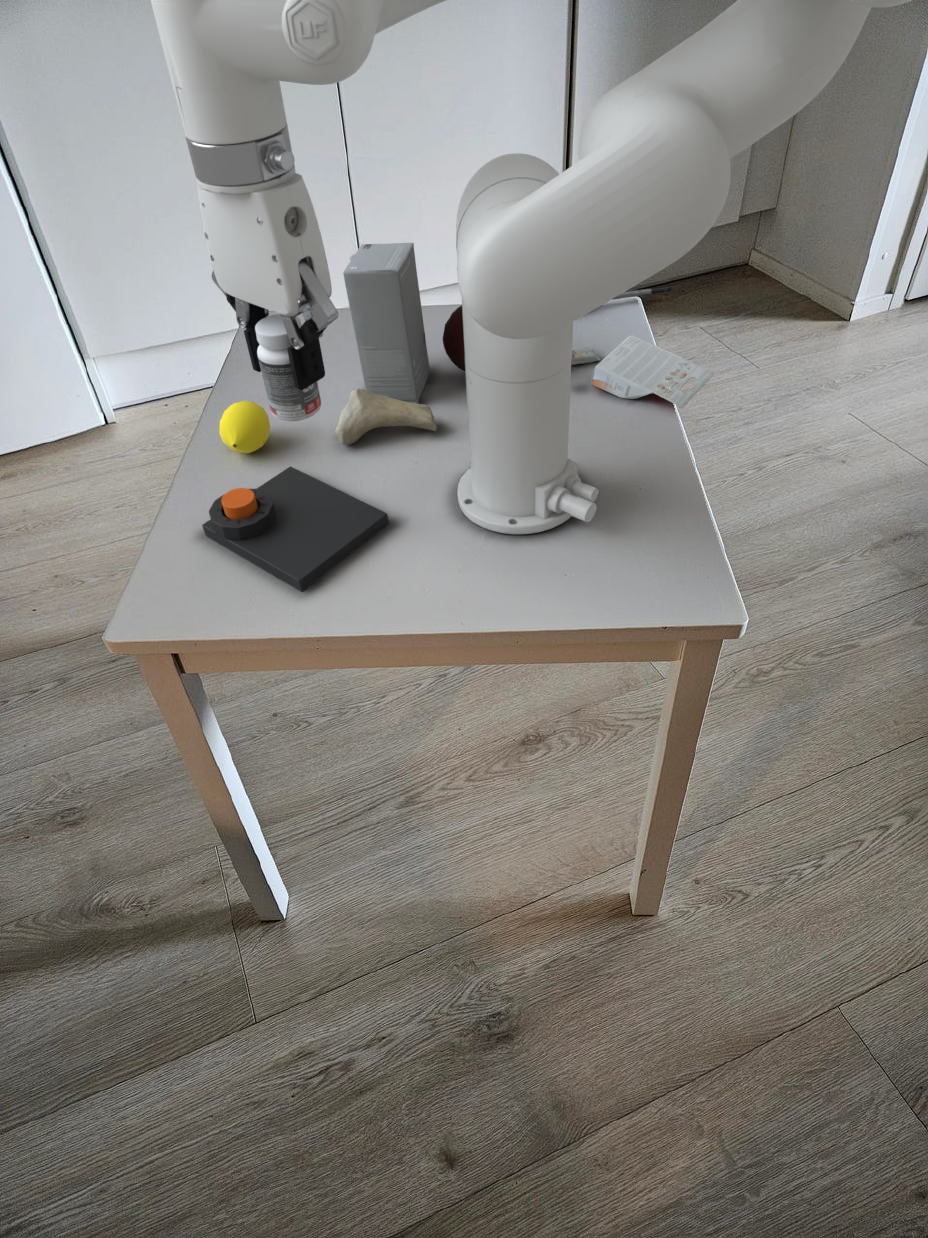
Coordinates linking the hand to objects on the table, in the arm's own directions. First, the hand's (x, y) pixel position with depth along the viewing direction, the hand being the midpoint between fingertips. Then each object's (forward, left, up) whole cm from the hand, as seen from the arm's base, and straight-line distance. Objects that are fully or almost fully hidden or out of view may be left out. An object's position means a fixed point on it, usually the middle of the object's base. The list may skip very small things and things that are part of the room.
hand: (289, 371), depth 78 cm
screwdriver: (0, -50, -14) cm, 52 cm away
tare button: (+3, +7, -13) cm, 15 cm away
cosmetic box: (+9, -22, -15) cm, 29 cm away
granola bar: (-4, -39, -14) cm, 42 cm away
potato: (+1, -31, -15) cm, 35 cm away
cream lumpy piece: (+3, -14, -15) cm, 21 cm away
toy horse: (-7, -37, -15) cm, 40 cm away
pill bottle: (0, 0, -4) cm, 4 cm away
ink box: (-10, -39, -13) cm, 42 cm away
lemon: (+14, -3, -15) cm, 21 cm away
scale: (-1, +4, -15) cm, 16 cm away
